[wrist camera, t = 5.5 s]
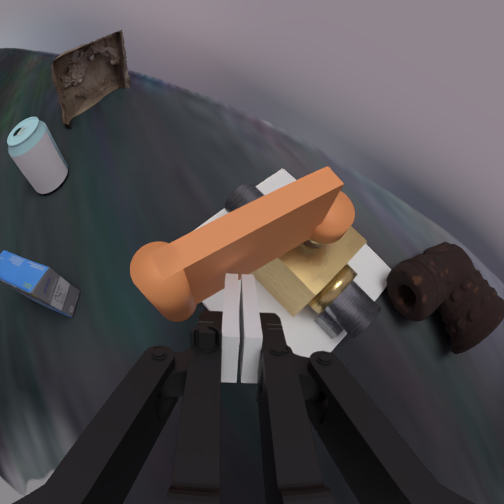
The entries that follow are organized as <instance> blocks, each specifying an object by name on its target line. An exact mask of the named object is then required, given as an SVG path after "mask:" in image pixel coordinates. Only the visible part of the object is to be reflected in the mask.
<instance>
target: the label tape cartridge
mask: <svg viewBox="0 0 504 504" xmlns="http://www.w3.org/2000/svg"><path fill="white" fill-rule="evenodd" d="M0 281H1V282H3V283H5V284H6V285H8V286H9V287H11V288H13V289H14V290H16V291H18V292H19V293H21V294H23V295H25V296H26V297H28V298H30V299H31V300H33V301H35V302H37V303H39V304H41V305H43V306H46V307H48V308H50V309H52V310H54V311H57V312H59V313H61V314H64V315H66V316H69V317H73V314H74V311H75V308H76V304H77V301H78V298H79V295H80V291H79V290H78V289H76V288H75V287H74V286H72V285H71V284H69V283H68V282H67V281H66V280H64V279H63V278H62V277H61V276H59V275H58V274H57V273H56V272H55V271H53V270H52V269H51V268H50V267H47V266H44V265H41V264H39V263H36V262H33V261H30V260H28V259H25V258H23V257H20V256H18V255H15V254H12V253H10V252H7V251H5V250H4V251H3V252H2V253H1V254H0Z"/></svg>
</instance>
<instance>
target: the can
mask: <svg viewBox="0 0 504 504" xmlns="http://www.w3.org/2000/svg"><path fill="white" fill-rule="evenodd" d="M7 143H8V145H9V148H8V151H9V154H10V156H11V157H12V159H13V160H14V162H15V163H16V164H17V166H18V167H19V169H20V170H21V172H22V173H23V174H24V176H25V177H26V178H27V180H28V181H29V182H30V184H31V185H32V186H33V188H34V189H35V190H36V192H38V193H40V194H46V193H49V192H52V191H53V190H55V189H56V188H58V187H59V186H60V185H61V184H62V182H63V181H64V179H65V178H66V176H67V173H68V165H67V163H66V162H65V160H64V158H63V156H62V154H61V153H60V151H59V149H58V147H57V145H56V143H55V141H54V140H53V138H52V136H51V134H50V132H49V130H48V128H47V126H46V124H45V123H44V122H42V121H39V120H38V118H37V117H30V118H27V119H25V120H23V121H22V122H20V123H19V124H18V125H17V126H16V127H15V128H14V129H13V130H12V131H11V133H10V134H9V136H8V139H7Z"/></svg>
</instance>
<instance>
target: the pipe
mask: <svg viewBox="0 0 504 504" xmlns="http://www.w3.org/2000/svg"><path fill="white" fill-rule="evenodd" d="M386 281H387V291H388V295H389V298H390V300H391V302H392V304H393V306H394V308H395V309H396V310H397V311H398V312H400V313H401V314H402V315H403V316H405V317H406V318H408V319H410V320H413V321H422V320H424V319H426V318H427V317H428V316H429V315H431V314H432V313H433V312H434V311H435V310H436V309H438V311H439V312H440V313H441V314H442V316H441V318H442V321H443V322H444V323H445V331H446V332H447V333H448V334H449V335H450V344H451V346H452V352H453V353H454V354H459V353H463V352H465V351H467V350H469V349H471V348H472V347H474V346H475V345H477V344H478V343H480V342H481V341H482V340H483V339H485V338H486V337H487V336H488V335H489V334H490V333H491V332H492V331H493V330H494V329H495V328H496V327H497V326H498V325H499V324H500V322H501V321H502V320H503V318H504V300H503V299H502V298H501V297H499V296H498V295H497V292H496V290H495V289H494V288H492V287H490V286H489V284H488V282H487V280H484V279H483V278H482V275H481V273H480V271H478V270H475V268H474V266H473V263H472V261H471V259H470V258H469V256H468V255H467V254H466V252H465V251H464V250H463V249H462V248H460V247H459V246H457V245H455V244H449V243H447V242H444V243H441V244H439V245H436V246H434V247H431V248H428V249H426V250H425V251H424V253H423V254H419V255H416V256H415V257H413V258H412V259H407V260H404V261H402V262H400V263H399V264H398V265H397V266H395V267H394V268H393V269H392V270H391V271H390V273H389V274H388V276H387V280H386Z"/></svg>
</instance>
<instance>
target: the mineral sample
mask: <svg viewBox="0 0 504 504" xmlns="http://www.w3.org/2000/svg"><path fill="white" fill-rule="evenodd" d="M126 62H127V61H126V51H125V47H124V38H123V33H122V30H121V31H118V32H115V33H113V34H110V35H107V36H105V37H102V38H100V39H97V40H96V41H94V42H93V41H92V42H91V43H89V44H84V45H80V46H79V47H76V48H74V49H71V50H69V51H66V52H64V53H63V54H61V55H59V56H58V57H57V58H56V59H55V60H54V61H53V64H52V68H51V69H52V73H53V83H54V85H55V88H56V91H57V93H58V99H59V103H60V105H61V108H62V116H63V123H64V124H67V125H68V126H69V127H70V128H71V126H70V125H69V122H70V120H71V119H72V118H73V117H74V116H77V115H79V114H81V113H82V112H84V111H86V110H87V109H89V108H90V107H92V106H93V105H95V104H96V103H97V102H99V101H100V100H101V99H102V98H103V97H104V96H106V95H108V94H109V93H110V92H112V91H114V90H116V89H118V88H124V89H126V88H128V87H130V85H129V82H130V79H129V76H130V75H129V76H128V72H127V71H128V69H127V63H126Z"/></svg>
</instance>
